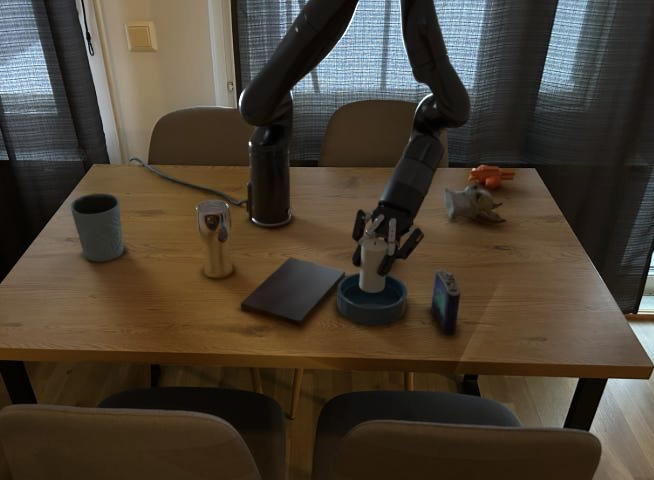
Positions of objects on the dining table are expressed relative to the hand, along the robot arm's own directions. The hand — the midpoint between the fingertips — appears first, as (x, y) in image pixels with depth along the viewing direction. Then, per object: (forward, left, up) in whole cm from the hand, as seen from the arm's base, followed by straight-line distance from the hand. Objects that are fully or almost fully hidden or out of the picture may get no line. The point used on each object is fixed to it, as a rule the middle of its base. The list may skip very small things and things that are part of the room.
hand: (368, 270), depth 119 cm
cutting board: (-15, -1, -9) cm, 18 cm away
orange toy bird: (+7, +69, -9) cm, 70 cm away
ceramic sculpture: (+7, +48, -9) cm, 50 cm away
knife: (-5, +25, -9) cm, 27 cm away
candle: (0, +2, -4) cm, 5 cm away
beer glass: (-34, -1, -9) cm, 35 cm away
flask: (+14, +3, -9) cm, 17 cm away
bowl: (0, +2, -9) cm, 9 cm away
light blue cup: (-61, -6, -9) cm, 62 cm away
